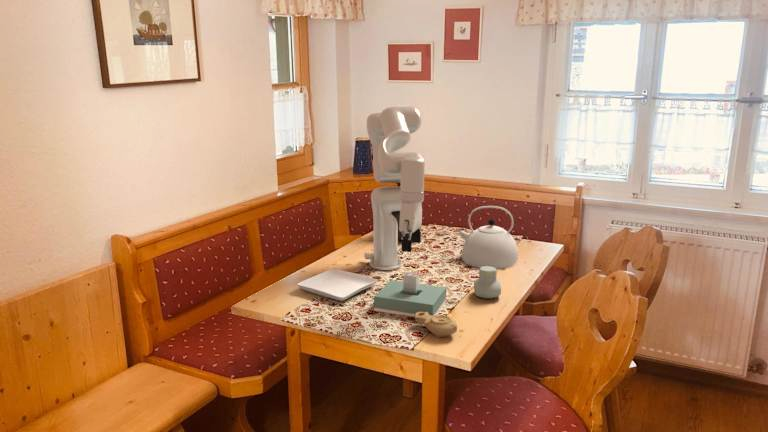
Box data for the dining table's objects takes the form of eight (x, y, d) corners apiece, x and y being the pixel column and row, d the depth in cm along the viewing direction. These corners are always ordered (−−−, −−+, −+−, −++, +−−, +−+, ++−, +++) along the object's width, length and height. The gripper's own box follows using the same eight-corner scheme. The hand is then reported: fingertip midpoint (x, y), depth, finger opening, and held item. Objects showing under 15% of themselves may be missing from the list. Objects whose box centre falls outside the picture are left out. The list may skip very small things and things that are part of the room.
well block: (374, 310, 205) (374, 296, 204) (390, 293, 220) (390, 280, 219) (432, 319, 199) (433, 304, 197) (445, 301, 213) (446, 287, 212)
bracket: (403, 303, 209) (403, 275, 206) (406, 300, 211) (406, 272, 209) (415, 305, 207) (416, 276, 204) (418, 302, 210) (419, 274, 207)
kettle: (454, 266, 248) (455, 211, 242) (458, 249, 269) (459, 198, 264) (518, 270, 243) (521, 214, 237) (517, 252, 265) (520, 200, 259)
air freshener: (472, 289, 223) (473, 263, 221) (496, 289, 223) (497, 263, 221) (477, 301, 213) (478, 274, 210) (501, 301, 213) (502, 274, 210)
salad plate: (379, 287, 226) (379, 278, 226) (342, 306, 210) (342, 297, 209) (333, 275, 238) (333, 267, 237) (295, 293, 221) (295, 283, 220)
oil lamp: (416, 321, 197) (416, 306, 196) (461, 327, 193) (462, 312, 192) (407, 335, 188) (407, 320, 186) (454, 342, 183) (454, 326, 182)
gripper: (409, 189, 209) (408, 238, 213) (391, 201, 193) (391, 253, 198) (431, 191, 206) (429, 240, 211) (415, 203, 191) (414, 256, 195)
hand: (411, 246), depth 204 cm, fingers open, 9 cm apart
